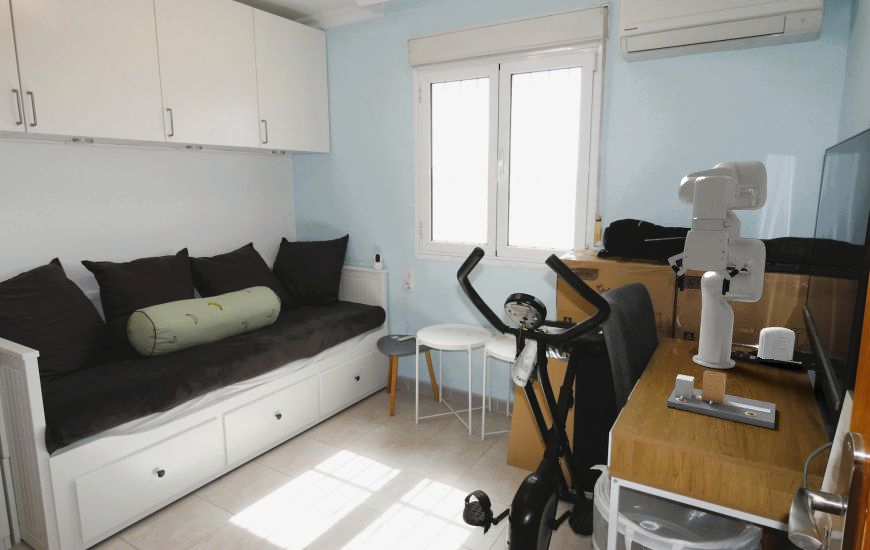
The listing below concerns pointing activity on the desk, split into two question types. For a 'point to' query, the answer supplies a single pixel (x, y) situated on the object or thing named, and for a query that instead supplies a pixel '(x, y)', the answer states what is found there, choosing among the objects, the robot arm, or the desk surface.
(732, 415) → the slide rail plate
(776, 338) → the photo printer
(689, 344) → the desk surface
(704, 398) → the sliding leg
